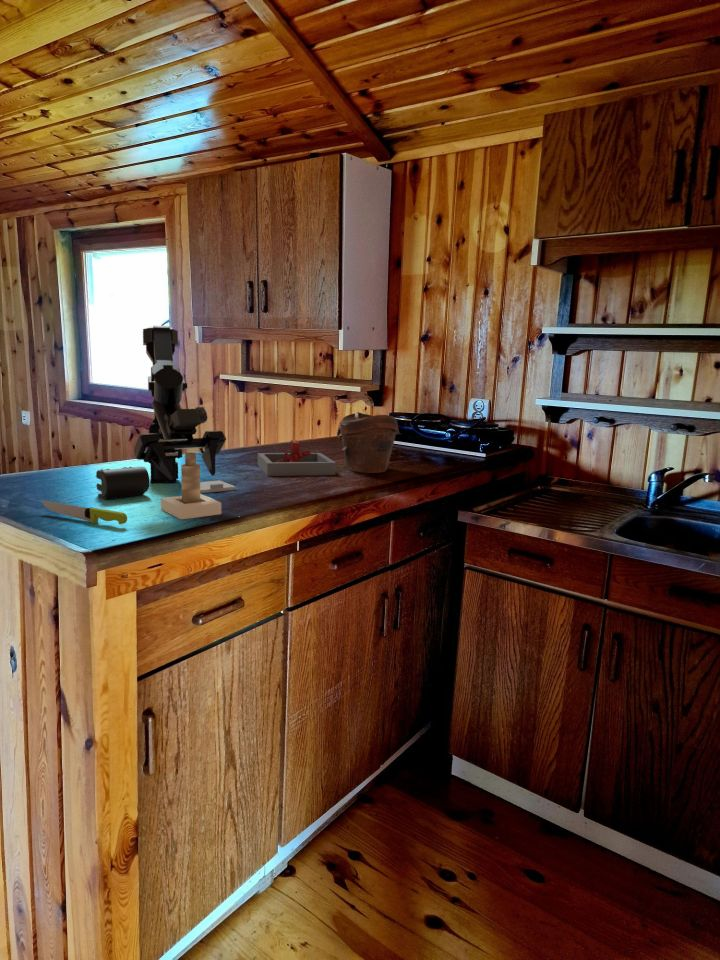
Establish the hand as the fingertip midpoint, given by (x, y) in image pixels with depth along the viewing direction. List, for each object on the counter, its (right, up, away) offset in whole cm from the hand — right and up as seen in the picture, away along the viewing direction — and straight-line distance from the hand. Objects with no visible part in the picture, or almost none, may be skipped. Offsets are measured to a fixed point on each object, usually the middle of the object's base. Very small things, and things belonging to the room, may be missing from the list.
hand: (193, 476), depth 131 cm
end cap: (-20, -5, +14) cm, 25 cm away
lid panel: (-3, -3, +27) cm, 27 cm away
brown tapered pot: (+37, +2, +64) cm, 74 cm away
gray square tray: (+15, +2, +58) cm, 60 cm away
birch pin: (-1, -7, +3) cm, 8 cm away
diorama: (+14, +3, +58) cm, 59 cm away
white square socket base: (-1, -7, +3) cm, 8 cm away
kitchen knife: (-20, -9, -7) cm, 23 cm away
